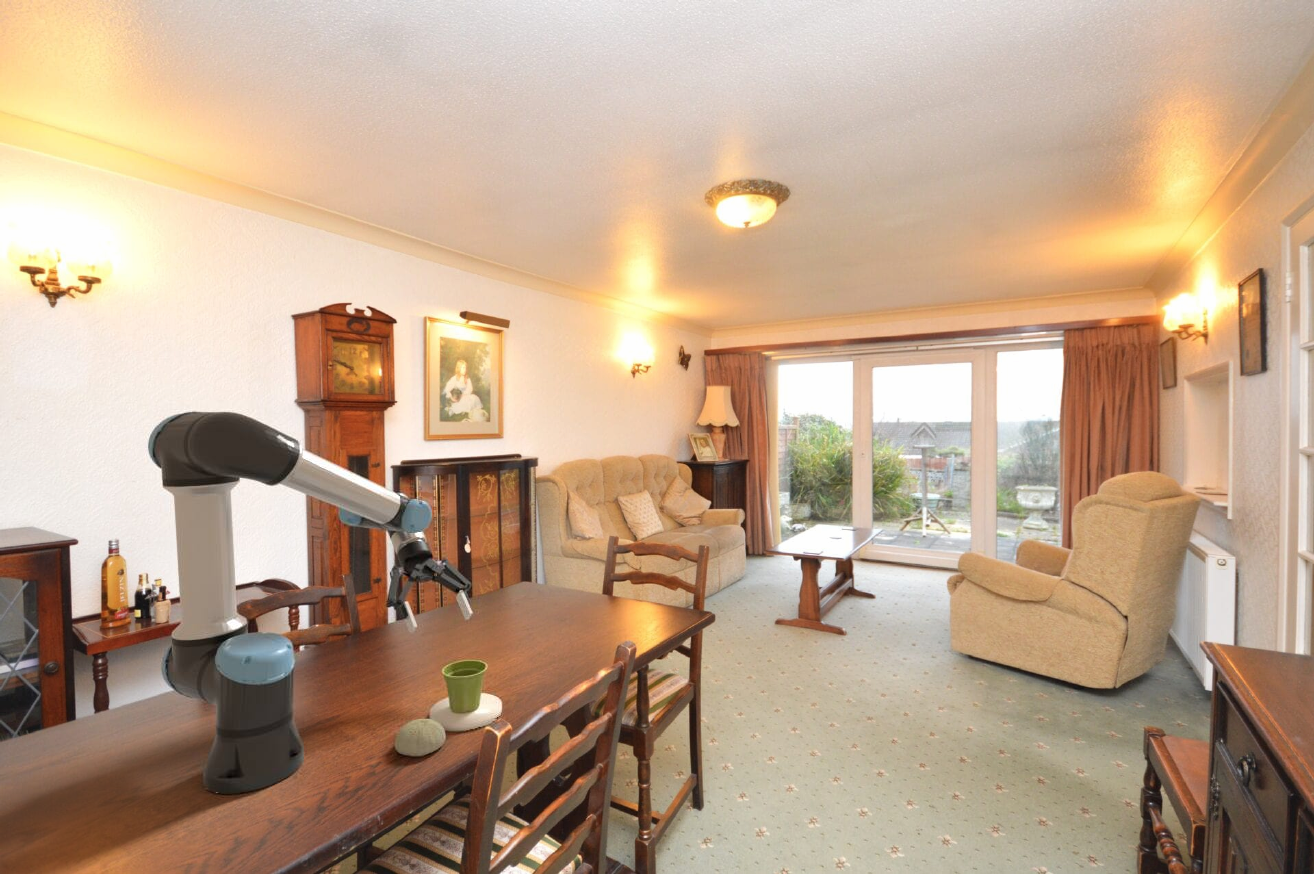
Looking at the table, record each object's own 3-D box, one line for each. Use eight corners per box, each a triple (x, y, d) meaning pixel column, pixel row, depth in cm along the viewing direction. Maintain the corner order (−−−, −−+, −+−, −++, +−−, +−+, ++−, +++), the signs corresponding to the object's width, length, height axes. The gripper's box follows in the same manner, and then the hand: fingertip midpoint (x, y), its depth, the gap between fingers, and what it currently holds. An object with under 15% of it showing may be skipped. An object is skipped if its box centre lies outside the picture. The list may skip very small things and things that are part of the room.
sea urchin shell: (419, 756, 112) (399, 718, 115) (399, 777, 115) (381, 739, 118) (458, 735, 120) (439, 699, 122) (439, 755, 123) (421, 720, 125)
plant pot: (474, 719, 127) (474, 678, 127) (433, 715, 129) (433, 674, 128) (494, 700, 136) (494, 661, 136) (456, 696, 138) (456, 658, 138)
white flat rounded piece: (452, 739, 122) (452, 731, 122) (416, 715, 132) (416, 708, 132) (515, 713, 133) (515, 706, 133) (478, 693, 143) (478, 687, 143)
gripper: (453, 550, 160) (483, 619, 150) (354, 565, 142) (382, 645, 132) (464, 533, 157) (496, 602, 147) (364, 545, 138) (393, 626, 128)
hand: (442, 623), depth 139 cm, fingers open, 13 cm apart
